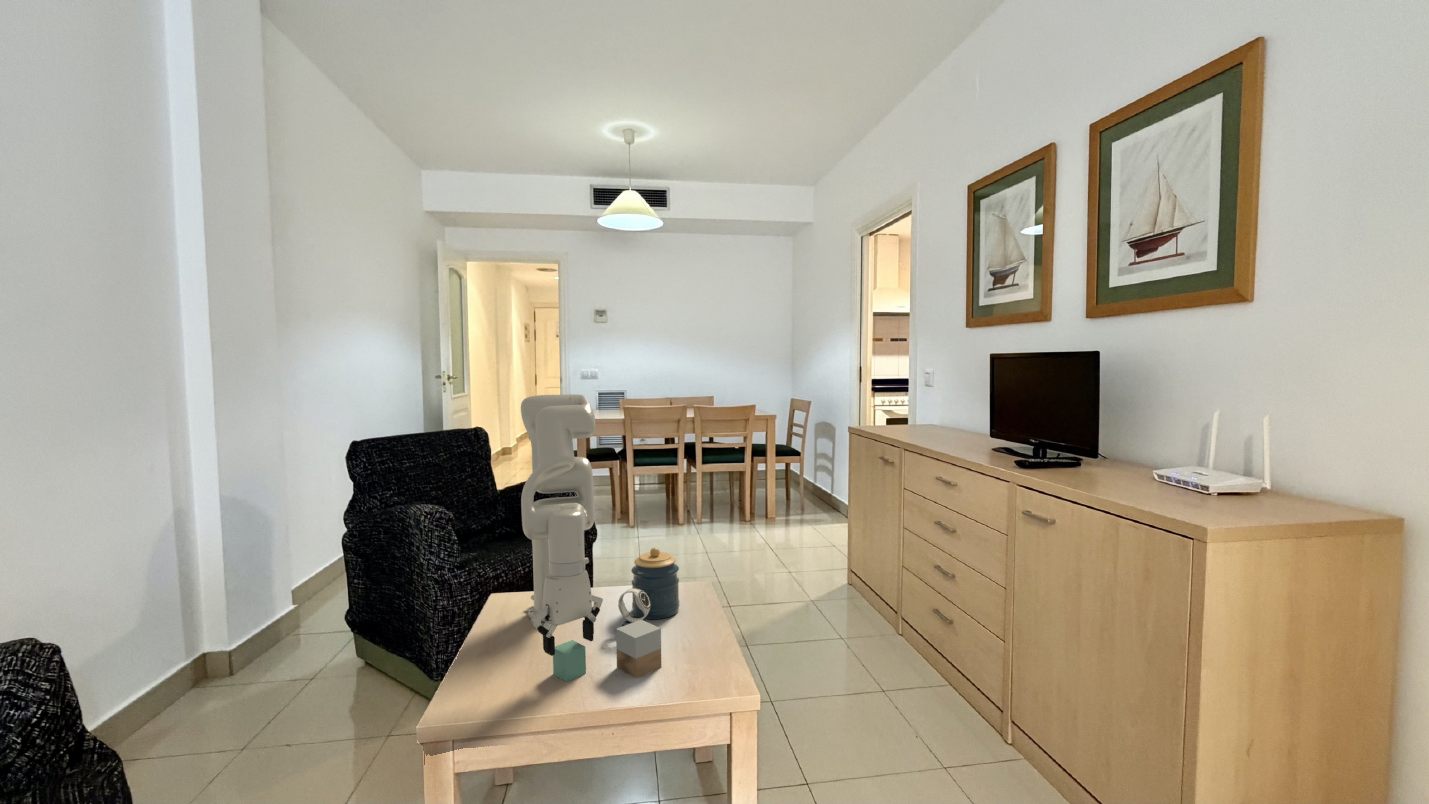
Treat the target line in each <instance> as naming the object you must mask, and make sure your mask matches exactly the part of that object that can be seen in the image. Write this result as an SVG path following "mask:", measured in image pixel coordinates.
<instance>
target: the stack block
mask: <svg viewBox="0 0 1429 804" xmlns="http://www.w3.org/2000/svg"><path fill="white" fill-rule="evenodd" d="M586 654H587V653H586V646H585V645H583V644H582V643H579V642H577V641H575V640H573V639H572V640H569V641H566V642H564V643H561V644H557V645H555V654H554V655H553V656H552V670H553V671H552V672H553V675H554V676H555V677H558V678H559V679H561V680H562V681H564V682H565V683H567V682H569V681H572V680H573V679H576V678H578V677H581V676H583V675H586V673H587V663H586V661H587V658H586Z"/></svg>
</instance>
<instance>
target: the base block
mask: <svg viewBox="0 0 1429 804" xmlns="http://www.w3.org/2000/svg"><path fill="white" fill-rule="evenodd" d="M661 668H662V648H661V649H658V650H656V651H653V652H651V653H649V654H646V655H644V656H641V657H639V658H637V659H635V658H633V657H631V656H629V655H628V654H626V653H624V652H622V651H620V650H618V649H617V648H616V669H618V670H620V671H622V672H623V673H624V674H625V673H626V674H627V675H629V676H631V677H633V678H635V679H638V678H641V677H643V676H645V675H647V674H650V673H651V672H654V671H657V670H658V669H661Z"/></svg>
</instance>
